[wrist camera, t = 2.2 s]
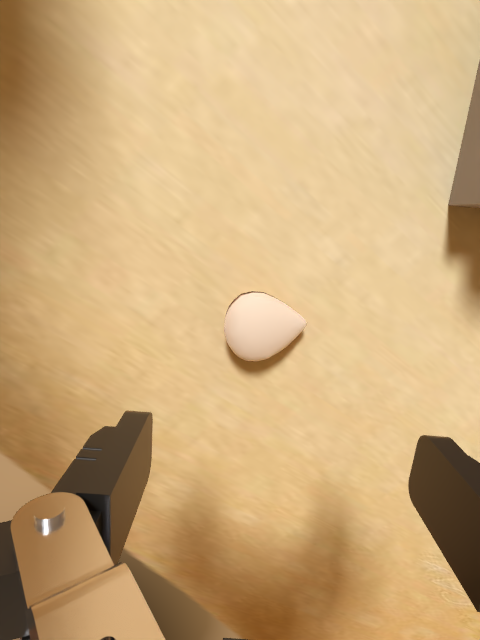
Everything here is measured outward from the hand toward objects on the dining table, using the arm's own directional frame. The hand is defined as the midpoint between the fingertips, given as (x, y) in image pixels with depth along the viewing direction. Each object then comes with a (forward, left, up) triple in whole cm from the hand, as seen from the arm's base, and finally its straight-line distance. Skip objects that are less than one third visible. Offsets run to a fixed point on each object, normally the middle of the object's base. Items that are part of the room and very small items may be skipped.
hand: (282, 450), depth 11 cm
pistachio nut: (0, 0, -14) cm, 14 cm away
